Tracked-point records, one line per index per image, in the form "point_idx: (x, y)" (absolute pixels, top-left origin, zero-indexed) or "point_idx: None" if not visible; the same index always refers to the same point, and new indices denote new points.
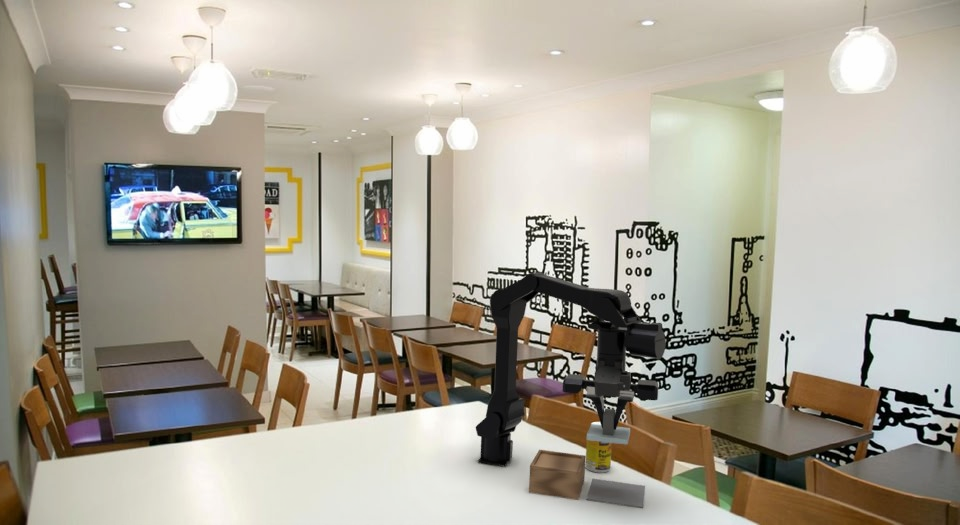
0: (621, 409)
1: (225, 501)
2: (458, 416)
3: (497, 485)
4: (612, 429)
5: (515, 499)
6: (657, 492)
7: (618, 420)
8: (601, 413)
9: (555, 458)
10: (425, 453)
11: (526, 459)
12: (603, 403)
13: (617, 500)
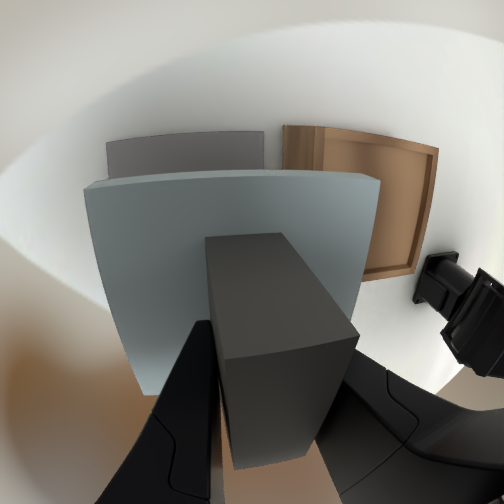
0: (138, 470)
1: None
2: (435, 380)
3: (439, 160)
4: (212, 261)
5: (408, 97)
6: (95, 261)
7: (175, 369)
8: (357, 378)
9: (380, 244)
10: (493, 253)
11: (390, 307)
12: (343, 478)
13: (175, 151)
